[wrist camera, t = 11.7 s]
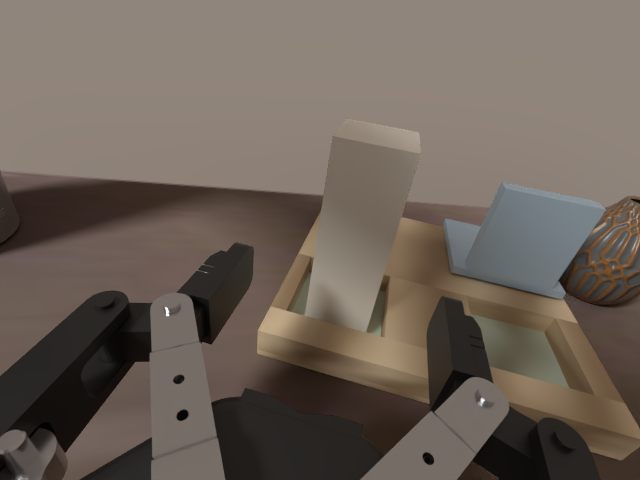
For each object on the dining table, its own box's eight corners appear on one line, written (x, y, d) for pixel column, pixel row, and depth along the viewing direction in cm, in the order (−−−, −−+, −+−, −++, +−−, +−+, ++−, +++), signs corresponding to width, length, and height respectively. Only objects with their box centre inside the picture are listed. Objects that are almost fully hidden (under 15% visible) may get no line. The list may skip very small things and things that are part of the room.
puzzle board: (256, 353, 20) (258, 330, 19) (323, 217, 35) (326, 199, 34) (621, 460, 17) (647, 441, 16) (523, 264, 32) (533, 247, 31)
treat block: (303, 320, 22) (332, 136, 15) (318, 283, 25) (347, 118, 19) (364, 337, 21) (420, 153, 15) (370, 296, 24) (419, 132, 18)
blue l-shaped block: (451, 272, 25) (489, 185, 21) (442, 223, 32) (471, 150, 28) (561, 299, 24) (623, 213, 20) (529, 243, 31) (571, 170, 27)
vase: (523, 271, 31) (574, 185, 27) (568, 261, 34) (622, 181, 29) (597, 325, 26) (677, 230, 21) (643, 308, 29) (723, 221, 24)
